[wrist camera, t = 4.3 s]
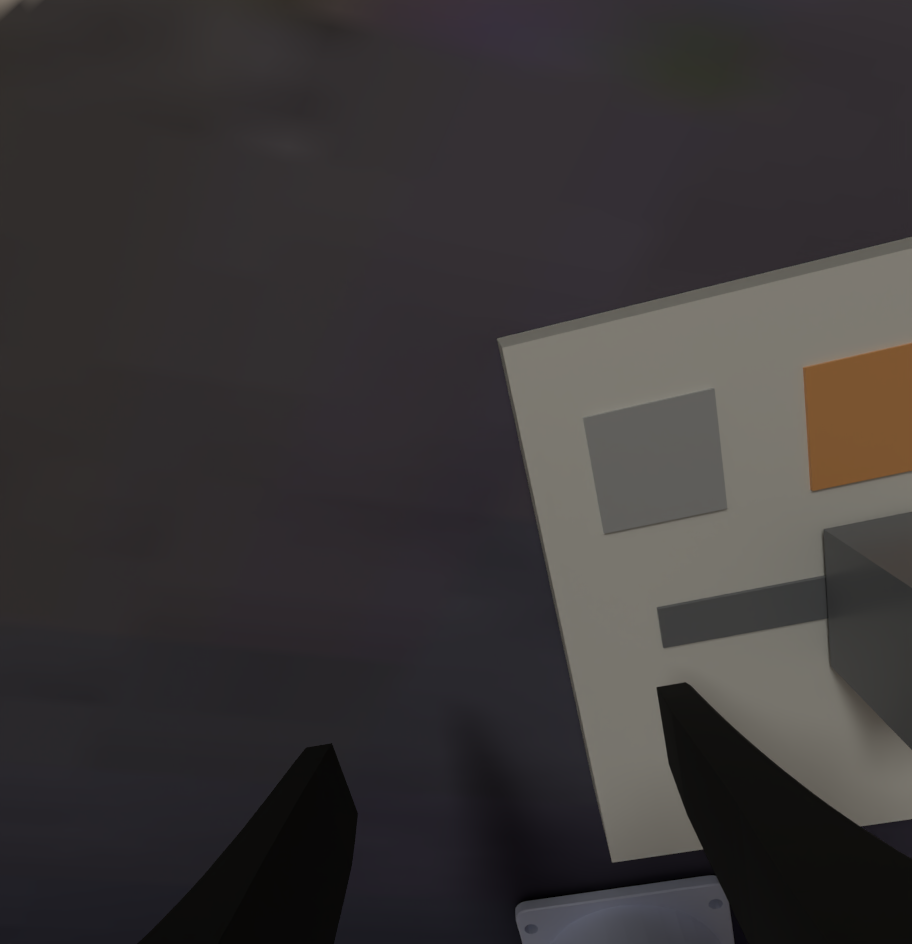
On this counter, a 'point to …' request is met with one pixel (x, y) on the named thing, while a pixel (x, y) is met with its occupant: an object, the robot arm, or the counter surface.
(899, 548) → the handle
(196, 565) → the counter surface
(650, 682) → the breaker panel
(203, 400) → the counter surface
